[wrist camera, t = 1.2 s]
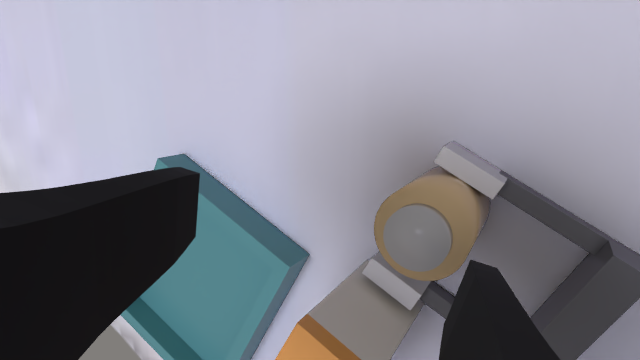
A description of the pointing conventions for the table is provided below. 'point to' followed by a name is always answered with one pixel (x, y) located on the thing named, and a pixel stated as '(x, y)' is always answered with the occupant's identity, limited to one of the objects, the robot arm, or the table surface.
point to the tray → (218, 280)
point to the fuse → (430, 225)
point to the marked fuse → (351, 324)
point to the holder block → (570, 297)
